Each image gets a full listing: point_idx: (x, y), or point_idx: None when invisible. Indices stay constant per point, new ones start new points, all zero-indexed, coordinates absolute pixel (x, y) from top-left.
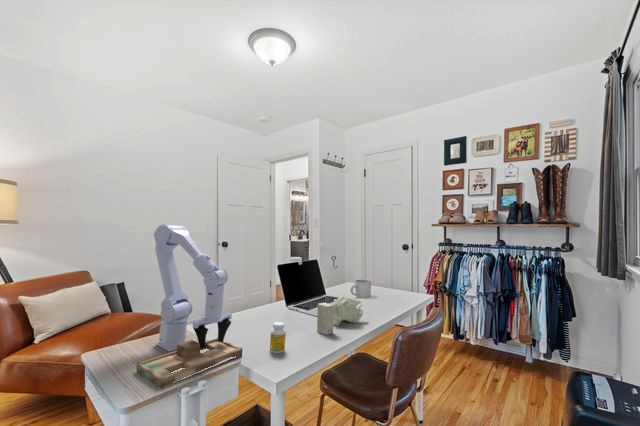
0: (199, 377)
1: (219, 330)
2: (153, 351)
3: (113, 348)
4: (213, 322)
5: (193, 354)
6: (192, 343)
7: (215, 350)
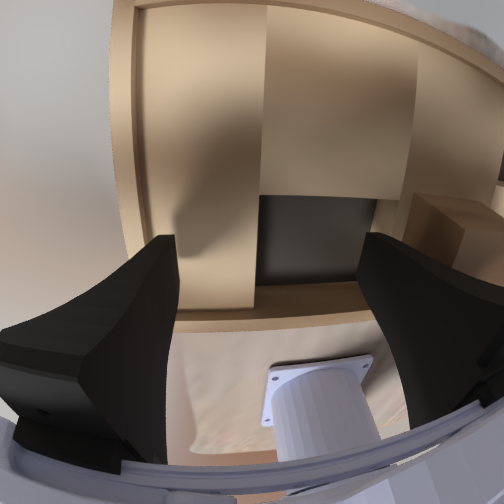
0: (484, 41)
1: (162, 352)
2: (385, 377)
3: (399, 417)
4: (337, 460)
5: (456, 201)
6: (473, 272)
7: (300, 154)
